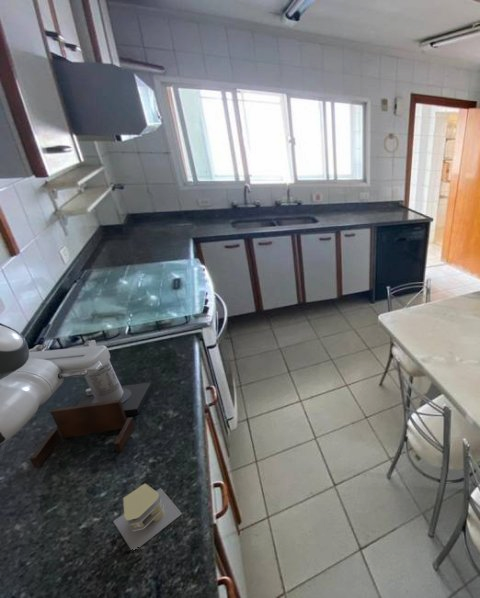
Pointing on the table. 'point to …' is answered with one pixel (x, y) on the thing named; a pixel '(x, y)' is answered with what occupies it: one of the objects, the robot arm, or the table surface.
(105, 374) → the energy drink can
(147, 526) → the stacked layers on plate
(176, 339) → the table surface
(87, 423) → the brown wooden stand
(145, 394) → the stove
